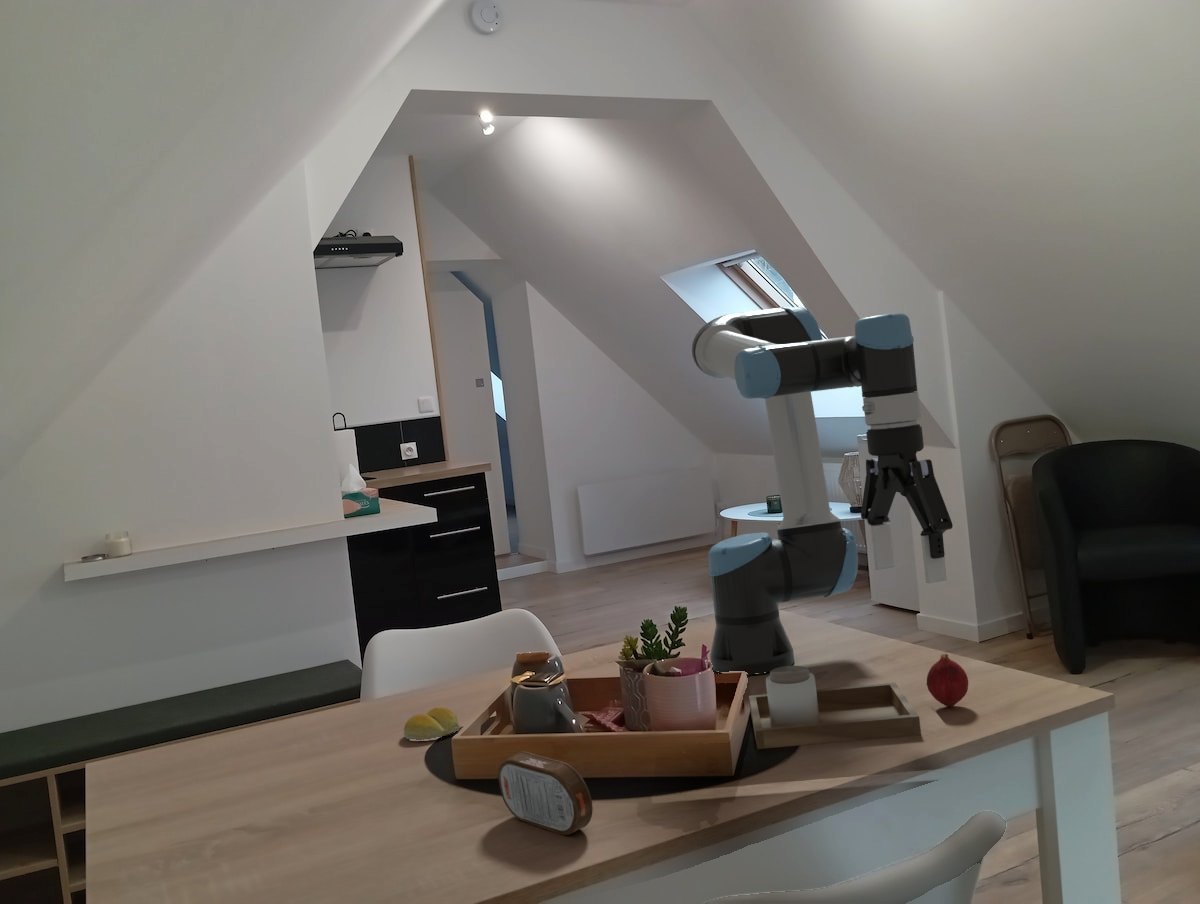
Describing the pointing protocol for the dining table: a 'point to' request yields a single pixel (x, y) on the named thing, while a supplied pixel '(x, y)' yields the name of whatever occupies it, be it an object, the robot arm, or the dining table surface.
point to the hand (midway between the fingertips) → (909, 574)
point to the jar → (792, 696)
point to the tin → (545, 793)
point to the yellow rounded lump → (431, 724)
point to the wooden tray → (841, 717)
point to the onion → (947, 681)
